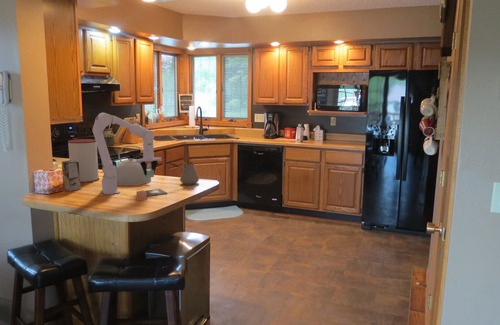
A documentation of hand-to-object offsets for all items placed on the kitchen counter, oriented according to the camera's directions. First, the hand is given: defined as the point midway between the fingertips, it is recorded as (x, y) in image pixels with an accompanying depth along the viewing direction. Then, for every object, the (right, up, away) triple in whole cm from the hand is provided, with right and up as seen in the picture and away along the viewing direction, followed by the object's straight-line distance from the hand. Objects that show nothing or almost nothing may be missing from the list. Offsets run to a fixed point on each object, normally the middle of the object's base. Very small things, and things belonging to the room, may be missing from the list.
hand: (149, 174), depth 243 cm
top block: (+1, -12, -21) cm, 25 cm away
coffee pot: (+18, -7, +11) cm, 22 cm away
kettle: (-14, -5, +21) cm, 26 cm away
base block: (0, -1, 0) cm, 1 cm away
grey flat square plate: (+5, -10, -9) cm, 14 cm away
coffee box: (-45, -9, 0) cm, 45 cm away
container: (-46, -4, +23) cm, 52 cm away
